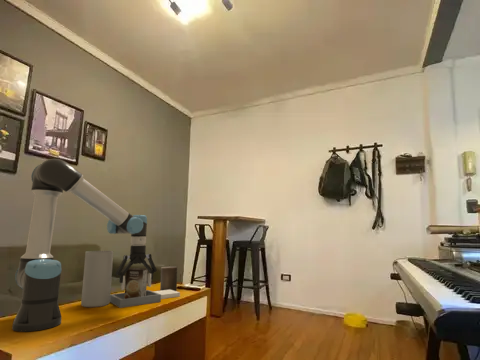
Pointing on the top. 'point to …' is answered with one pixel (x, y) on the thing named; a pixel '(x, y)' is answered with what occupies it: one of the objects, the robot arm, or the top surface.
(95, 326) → the top surface
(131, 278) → the coffee box
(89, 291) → the cylinder vase
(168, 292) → the board
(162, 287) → the brown box
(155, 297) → the bin
